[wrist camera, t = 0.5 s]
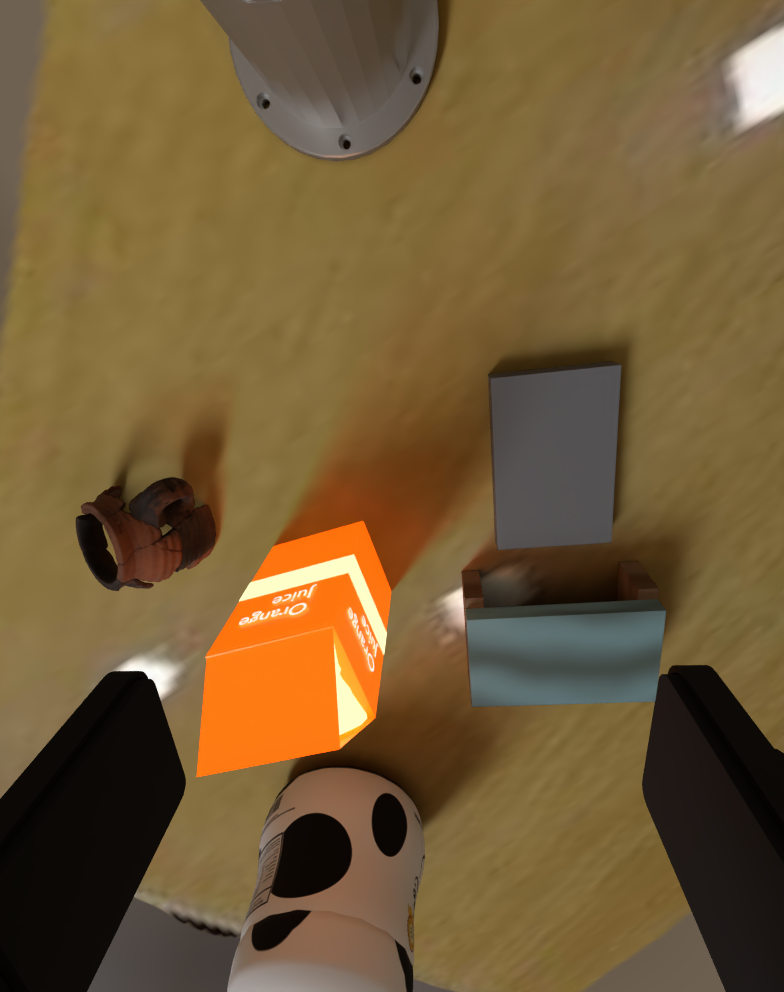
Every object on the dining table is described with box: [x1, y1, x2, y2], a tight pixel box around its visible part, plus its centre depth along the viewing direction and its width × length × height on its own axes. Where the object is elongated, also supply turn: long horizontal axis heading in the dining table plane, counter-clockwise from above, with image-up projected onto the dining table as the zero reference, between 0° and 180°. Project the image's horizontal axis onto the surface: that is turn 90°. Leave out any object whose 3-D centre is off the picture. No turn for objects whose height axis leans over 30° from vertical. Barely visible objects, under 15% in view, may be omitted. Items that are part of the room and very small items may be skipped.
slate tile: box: [488, 361, 621, 550], centre depth 39 cm, size 14×9×2 cm, turn 7°
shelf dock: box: [462, 561, 666, 707], centre depth 42 cm, size 12×15×6 cm
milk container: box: [227, 766, 425, 992], centre depth 48 cm, size 17×17×18 cm
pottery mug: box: [76, 477, 216, 591], centre depth 41 cm, size 12×10×8 cm
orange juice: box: [196, 521, 391, 777], centre depth 35 cm, size 8×9×20 cm
